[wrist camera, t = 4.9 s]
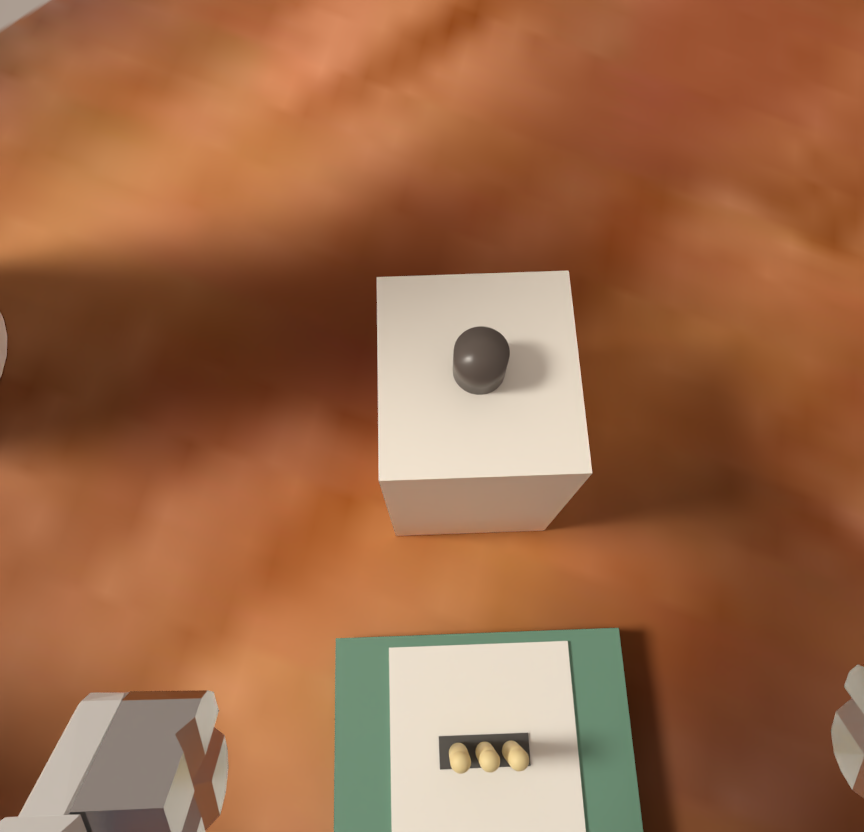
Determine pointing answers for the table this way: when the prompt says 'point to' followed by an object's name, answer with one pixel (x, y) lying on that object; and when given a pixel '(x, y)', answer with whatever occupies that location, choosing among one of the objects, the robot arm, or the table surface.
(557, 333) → the block
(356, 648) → the header board
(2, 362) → the cylindrical container
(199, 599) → the table surface
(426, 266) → the table surface
